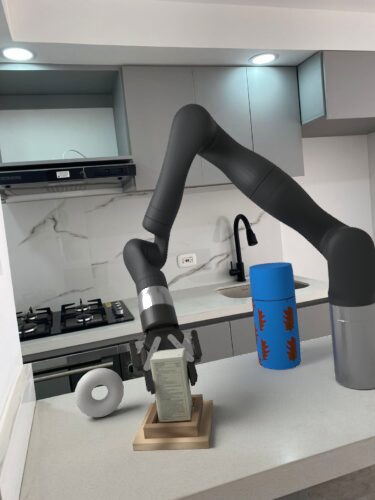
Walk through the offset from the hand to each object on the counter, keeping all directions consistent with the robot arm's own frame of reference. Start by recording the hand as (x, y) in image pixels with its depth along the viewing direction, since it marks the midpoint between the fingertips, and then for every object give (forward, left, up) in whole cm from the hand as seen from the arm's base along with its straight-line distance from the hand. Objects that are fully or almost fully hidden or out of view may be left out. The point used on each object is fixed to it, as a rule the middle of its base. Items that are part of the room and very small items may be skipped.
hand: (173, 388), depth 66 cm
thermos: (-22, -29, -8) cm, 38 cm away
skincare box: (+1, -1, -6) cm, 6 cm away
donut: (+17, -6, -8) cm, 20 cm away
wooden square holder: (+1, -1, -8) cm, 8 cm away
